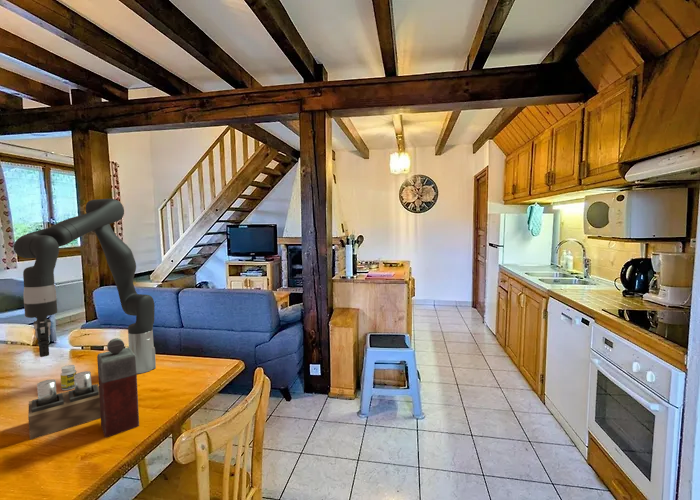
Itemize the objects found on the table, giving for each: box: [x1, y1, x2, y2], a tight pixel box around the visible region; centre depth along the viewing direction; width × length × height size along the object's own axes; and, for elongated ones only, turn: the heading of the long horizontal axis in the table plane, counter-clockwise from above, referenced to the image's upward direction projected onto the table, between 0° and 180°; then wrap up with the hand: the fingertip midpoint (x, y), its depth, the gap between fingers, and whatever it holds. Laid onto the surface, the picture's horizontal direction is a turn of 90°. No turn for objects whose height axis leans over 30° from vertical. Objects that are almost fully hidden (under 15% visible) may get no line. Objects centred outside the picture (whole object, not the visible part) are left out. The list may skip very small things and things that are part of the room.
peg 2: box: [74, 370, 92, 397], centre depth 115 cm, size 4×4×7 cm
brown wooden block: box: [27, 383, 101, 440], centre depth 113 cm, size 18×12×8 cm, turn 132°
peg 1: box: [36, 378, 58, 406], centre depth 109 cm, size 4×4×7 cm
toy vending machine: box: [96, 337, 140, 438], centre depth 110 cm, size 9×11×28 cm
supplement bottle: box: [60, 364, 77, 391], centre depth 135 cm, size 5×5×8 cm
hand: (44, 353), depth 108 cm, fingers open, 3 cm apart
